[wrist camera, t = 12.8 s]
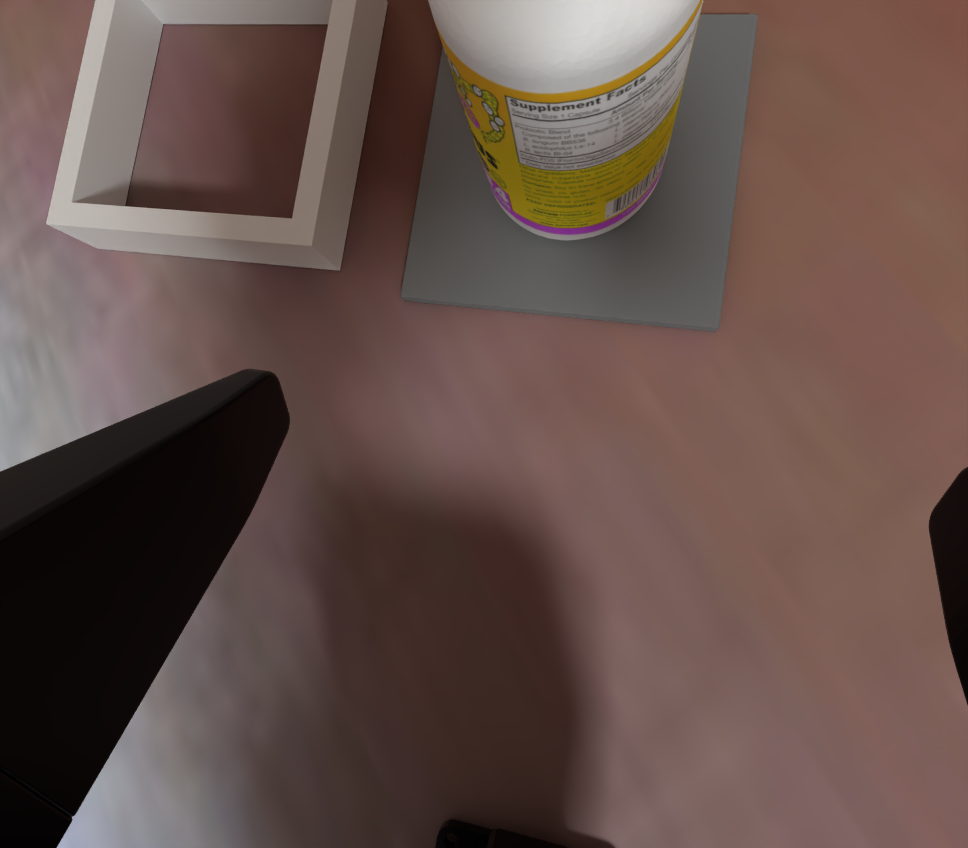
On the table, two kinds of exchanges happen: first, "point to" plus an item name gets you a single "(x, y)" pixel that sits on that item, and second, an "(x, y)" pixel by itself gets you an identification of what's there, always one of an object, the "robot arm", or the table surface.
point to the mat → (609, 256)
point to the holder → (119, 117)
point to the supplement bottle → (569, 102)
